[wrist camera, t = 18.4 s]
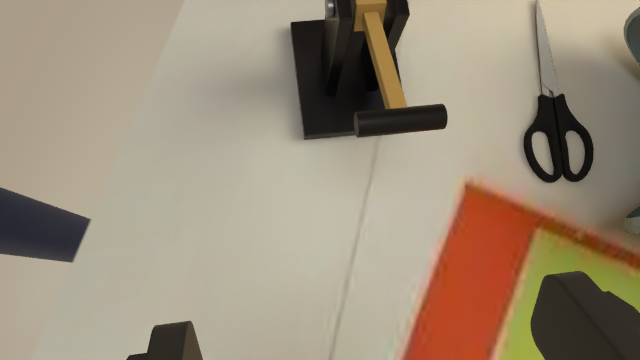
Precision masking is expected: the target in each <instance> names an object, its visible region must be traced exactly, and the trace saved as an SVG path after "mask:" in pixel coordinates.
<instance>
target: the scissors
mask: <svg viewBox="0 0 640 360" xmlns="http://www.w3.org/2000/svg"><path fill="white" fill-rule="evenodd" d="M536 21H537V38H538V49H539V59H540V77H541V86H542V94H541V95H539V96H538V111H537V115H536V118H535V120H534V122H533V123H532V125H531V126H530V127H529V129H528V130H527V132H526V133H525V136H524V150H525V154H526V158H527V160H528V163H529V165H530V167H531V168H532V170H533V171H534V172H535V174H536V175H537V176H538V177H539V178H540V179H542V180H543V181H545V182H555V181H557V180H558V179H559V178H560V177H561V176H562V174H563V176H564V178H566V179H567V180H569V181H571V182H577V181H580V180H582V179H583V178H584V177H585V176H586V175H587V174H588V172H589V170H590V168H591V166H592V162H593V143H592V139H591V137H590V134H589V133H588V131H587V130H586V129H585V127H583V126H582V125H581V124H580V123H579V122H578V121H577V120H576V119H575V117H574V116H573V115H572V113H571V112H570V110H569V108H568V106H567V103H566V100H565V95H564V94H560V95H559V91H558V85H557V79H556V74H555V69H554V66H553V61H552V57H551V51H550V45H549V40H548V35H547V31H546V26H545V22H544V18H543V14H542V11H541V7H540V4H539V0H536ZM550 90H551V91H552V92H553V96H554V98H551V97H549V91H550ZM569 130H573V131H575V132H577V133H578V134H579V135H580V137H581V139H582V141H583V143H584V147H585V158H584V163H583V166H582V169H581V170H580V172H579V173H578V174H577V175H576V174H573V173H572V171H571V170H570V166H569V155H568V147H567V142H566V137H565V136H566V132H567V131H569ZM536 131H542V132H544V133H546V135H547V137H548V142H549V146H550V152H551V157H552V162H553V167H554V173H553V175H549V174H547V173H546V172H545V171H544V170H543V169H542V168H541V167H540V165H539V164H538V162H537V160H536V158H535V155H534V153H533V149H532V135H533V133H535V132H536Z"/></svg>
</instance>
